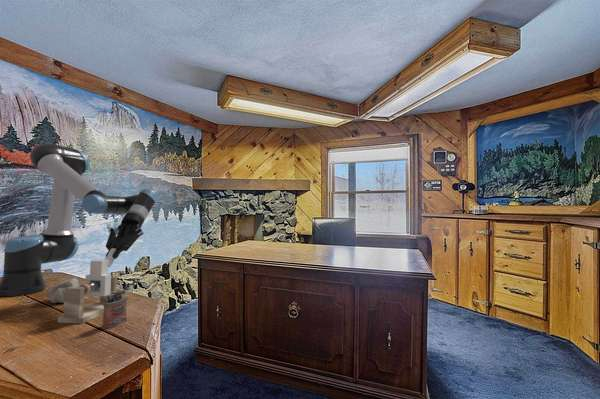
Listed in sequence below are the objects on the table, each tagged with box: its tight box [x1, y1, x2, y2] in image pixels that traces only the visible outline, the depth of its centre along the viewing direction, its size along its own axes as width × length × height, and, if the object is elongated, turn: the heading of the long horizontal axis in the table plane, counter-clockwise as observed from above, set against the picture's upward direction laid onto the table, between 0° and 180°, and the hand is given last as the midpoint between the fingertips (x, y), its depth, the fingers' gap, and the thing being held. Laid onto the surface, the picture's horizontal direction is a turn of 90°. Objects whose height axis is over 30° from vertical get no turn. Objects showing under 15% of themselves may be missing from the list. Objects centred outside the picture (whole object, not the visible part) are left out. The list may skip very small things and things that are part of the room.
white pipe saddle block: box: [84, 259, 112, 297], centre depth 103 cm, size 3×7×12 cm, turn 88°
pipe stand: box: [57, 276, 118, 324], centre depth 100 cm, size 18×8×11 cm, turn 178°
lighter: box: [101, 289, 128, 330], centre depth 91 cm, size 8×3×10 cm, turn 168°
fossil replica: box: [45, 277, 81, 304], centre depth 113 cm, size 12×8×10 cm
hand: (106, 265), depth 106 cm, fingers closed
